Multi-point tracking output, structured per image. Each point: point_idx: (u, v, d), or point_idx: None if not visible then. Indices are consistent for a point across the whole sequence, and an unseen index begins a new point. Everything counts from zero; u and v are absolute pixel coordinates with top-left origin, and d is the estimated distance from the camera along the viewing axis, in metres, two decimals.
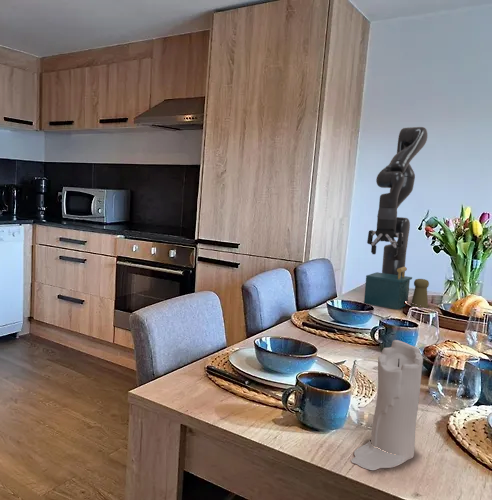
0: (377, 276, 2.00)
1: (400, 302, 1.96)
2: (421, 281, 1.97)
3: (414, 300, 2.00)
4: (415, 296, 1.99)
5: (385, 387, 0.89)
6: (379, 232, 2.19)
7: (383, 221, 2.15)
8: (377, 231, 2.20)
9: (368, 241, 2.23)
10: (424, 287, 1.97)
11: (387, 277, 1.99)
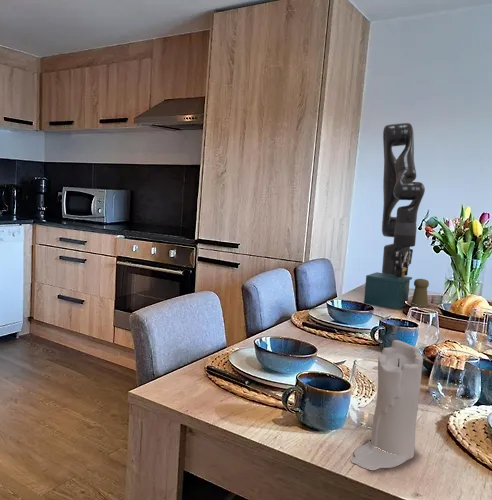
0: (377, 276, 2.00)
1: (400, 302, 1.96)
2: (421, 281, 1.97)
3: (414, 300, 2.00)
4: (415, 296, 1.99)
5: (385, 387, 0.89)
6: None
7: None
8: None
9: None
10: (424, 287, 1.97)
11: (387, 277, 1.99)
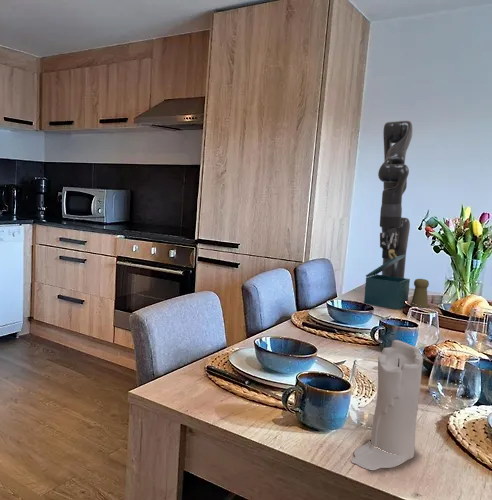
0: (374, 270, 2.01)
1: (400, 302, 1.96)
2: (421, 281, 1.97)
3: (414, 300, 2.00)
4: (415, 296, 1.99)
5: (385, 387, 0.89)
6: None
7: None
8: None
9: None
10: (424, 287, 1.97)
11: (383, 265, 1.99)
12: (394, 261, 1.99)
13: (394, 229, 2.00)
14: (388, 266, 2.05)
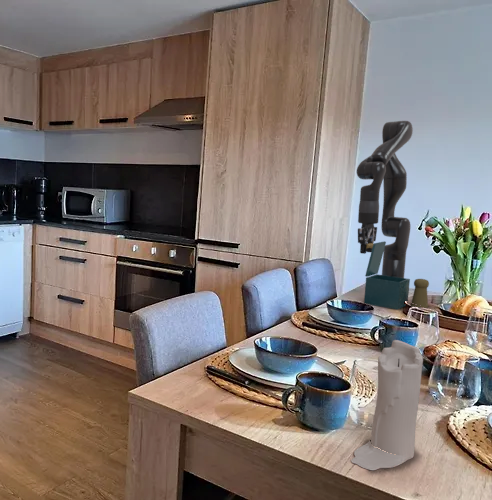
0: None
1: (400, 302, 1.96)
2: (421, 281, 1.97)
3: (414, 300, 2.00)
4: (415, 296, 1.99)
5: (385, 387, 0.89)
6: None
7: None
8: None
9: None
10: (424, 287, 1.97)
11: None
12: (379, 250, 2.03)
13: (372, 225, 2.06)
14: (379, 259, 2.07)
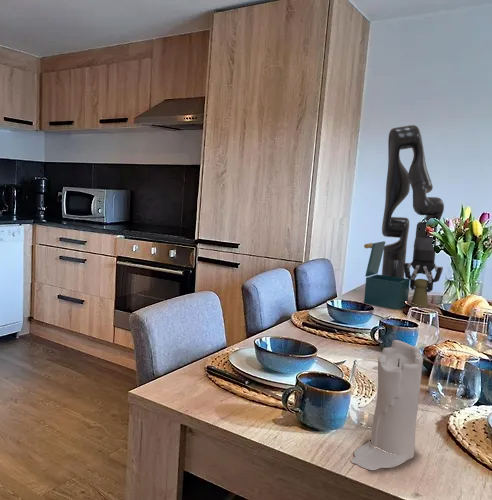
0: None
1: (400, 302, 1.96)
2: (421, 281, 1.97)
3: (414, 300, 2.00)
4: (415, 296, 1.99)
5: (385, 387, 0.89)
6: (415, 263, 1.99)
7: (421, 252, 1.95)
8: (413, 262, 2.00)
9: (406, 275, 2.02)
10: (424, 287, 1.97)
11: None
12: (378, 250, 2.03)
13: None
14: (379, 259, 2.07)
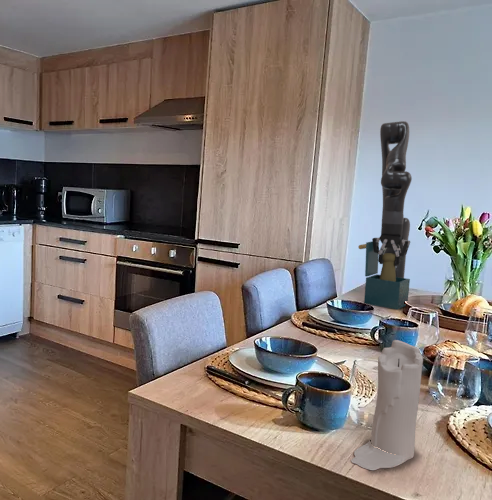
0: None
1: (400, 302, 1.96)
2: (389, 255, 1.98)
3: (382, 274, 2.01)
4: (383, 270, 2.00)
5: (385, 387, 0.89)
6: (383, 237, 2.00)
7: (388, 226, 1.96)
8: (381, 237, 2.01)
9: (375, 250, 2.03)
10: (392, 261, 1.98)
11: None
12: (373, 249, 2.05)
13: None
14: (376, 258, 2.08)
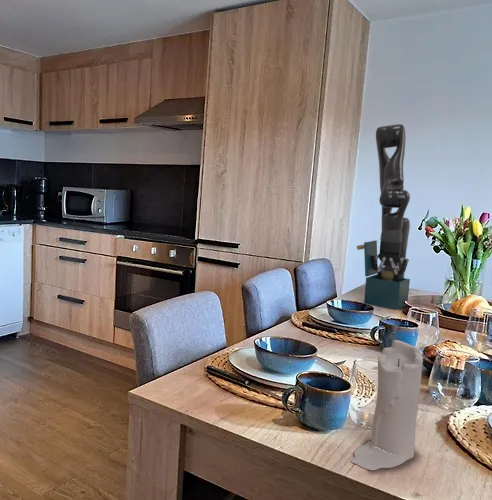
0: None
1: (400, 302, 1.96)
2: (387, 273, 1.99)
3: None
4: None
5: (385, 387, 0.89)
6: (382, 255, 2.01)
7: (387, 244, 1.97)
8: (380, 254, 2.02)
9: (373, 267, 2.04)
10: (390, 279, 1.99)
11: None
12: (371, 248, 2.05)
13: None
14: None
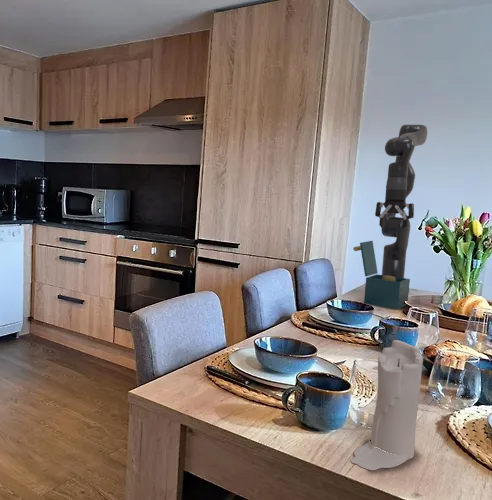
0: None
1: (400, 302, 1.96)
2: (388, 278, 2.00)
3: None
4: None
5: (385, 387, 0.89)
6: (388, 203, 2.07)
7: (392, 191, 2.03)
8: (386, 202, 2.08)
9: (376, 213, 2.11)
10: None
11: None
12: (368, 248, 2.06)
13: None
14: (373, 258, 2.09)
